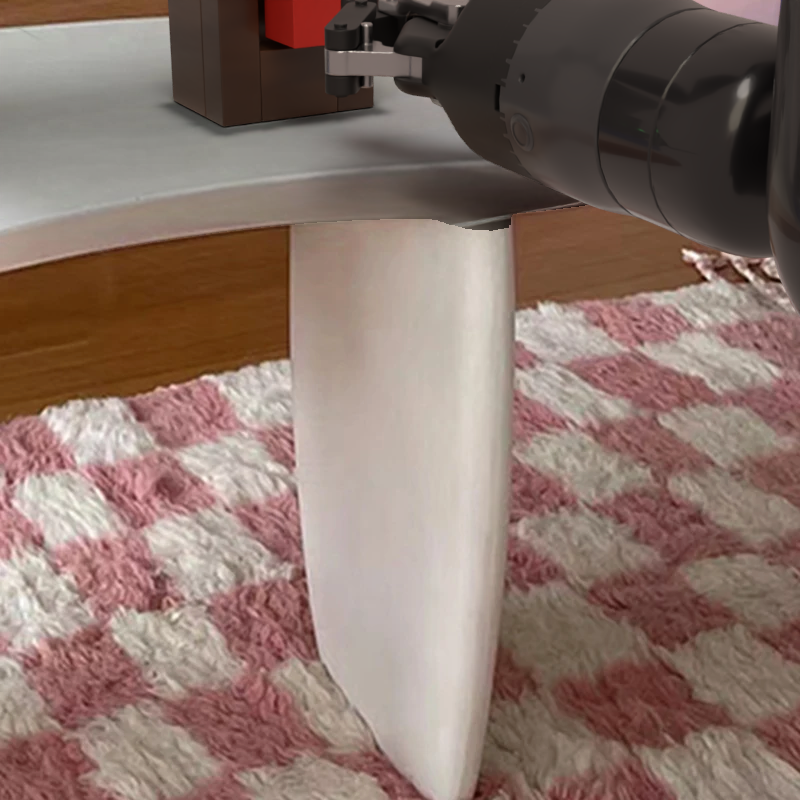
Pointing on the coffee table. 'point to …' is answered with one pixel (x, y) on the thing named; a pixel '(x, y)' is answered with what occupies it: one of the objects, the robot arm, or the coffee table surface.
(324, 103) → the switch box
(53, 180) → the coffee table surface
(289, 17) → the red button
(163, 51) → the coffee table surface
